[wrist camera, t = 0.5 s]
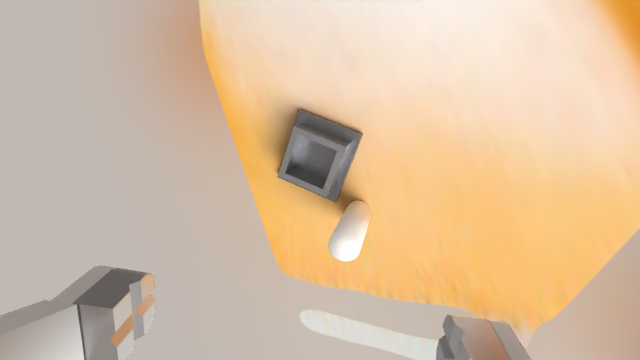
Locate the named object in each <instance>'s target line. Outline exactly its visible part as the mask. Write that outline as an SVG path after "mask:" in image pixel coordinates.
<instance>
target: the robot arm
mask: <svg viewBox="0 0 640 360" xmlns="http://www.w3.org/2000/svg"><path fill="white" fill-rule="evenodd" d="M154 287H155V282H154V276H153V275H152V274H151V273H145V272H139V271H133V270H127V269H120V268H113V267H107V266H95V267H93V268H92V269H91V270H89V271H88V272H87V273H86V274H85V275H83V276H82V277H80V278H79V279H78V280H77V281H75V282H74V283H73V284H72V285H70V286H69V287H68V288H66V289H65V290H64V291H63V292H61V293H60V294H59V295H58V296H56V297H55V298H54V299H52V300H51V301H47V300H44V301H41V302H38V303H35V304H32V305H29V306H27V307H24V308H21V309H18V310H15V311H12V312H9V313H7V314H4V315H1V316H0V360H126V359H127V357H128V356H129V355H130V354H131V352H132V351H133V350H134V348H135V346H134V340H136V339H138V338H140V337H142V336H144V335H145V334H146V332H147V331H148V329H149V328H150V326H151V324H152V321H153V319H154V317H155V310H156V300H155V298H154V297H153V296H152V295H151V293H150V292H151V291H152V289H153V288H154ZM443 329H444V332H445V335H444V336H443V337H442V338H441V339H439V342H438V346H437V354H436V360H531V358H530V357H529V355H528V353H527V352H526V350H525V349H524V347H523V346H522V344H521V342H520V341H519V339H518V338H517V336H516V335H515V333H514V331H513V330H512V328H511V327H510V325H509V324H508V323H507V322H506V321H503V320H493V319H479V318H472V317H464V316H456V315H447V316H446V318H445V320H444V323H443Z"/></svg>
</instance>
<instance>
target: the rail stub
mask: <svg viewBox="0 0 640 360" xmlns="http://www.w3.org/2000/svg"><path fill="white" fill-rule="evenodd" d="M371 215H372V212H371V208H370V207H369V205H368V204H367V203H365V202H363V201H359V200H358V201H353V202H351V203H350V204H349V205H348V206H347V208H346V210H345V212H344V214H343V216H342V217H341V219H340V221H339V223H338V225H337V226H336V228H335V230H334V232H333V234H332V236H331V237H330V239H329V243H328V247H329V251H330V253H331V254H332V255H333V256H334V257H335V258H336V259H338V260H340V261H351V260H353V259H355V258H356V257H357V256H358V255H359V252H360V249H361V246H362V243H363V240H364V237H365V234H366V231H367V228H368V225H369V222H370V219H371Z"/></svg>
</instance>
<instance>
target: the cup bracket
mask: <svg viewBox="0 0 640 360" xmlns="http://www.w3.org/2000/svg"><path fill="white" fill-rule="evenodd" d="M362 135H363V134H362V133H359V132H357V131H354V130H352V129H349V128H347V127H344V126H342V125H339V124H337V123H334V122H332V121H329V120H327V119H324V118H321V117H319V116H316V115H314V114H311V113H309V112H306V111H304V110H299V112H298V115H297V118H296V121H295V124H294V127H293V130H292V133H291V136H290V140H289V143H288V146H287V149H286V152H285V155H284V158H283V161H282V164H281V168H280V171H279V174H278V177H279V178H281V179H283V180H286V181H288V182H290V183H293V184H295V185H297V186H300V187H302V188H304V189H307V190H309V191H311V192H314V193H316V194H318V195H320V196H323V197H325V198H327V199H330V200H332V201H334V202H336V201H337V199H338V196H339V194H340V191H341V188H342V186H343V183H344V181H345V178H346V176H347V173H348V171H349V168H350V166H351V163H352V161H353V158H354V155H355V153H356V150H357V148H358V145H359V143H360V140H361V138H362Z"/></svg>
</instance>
